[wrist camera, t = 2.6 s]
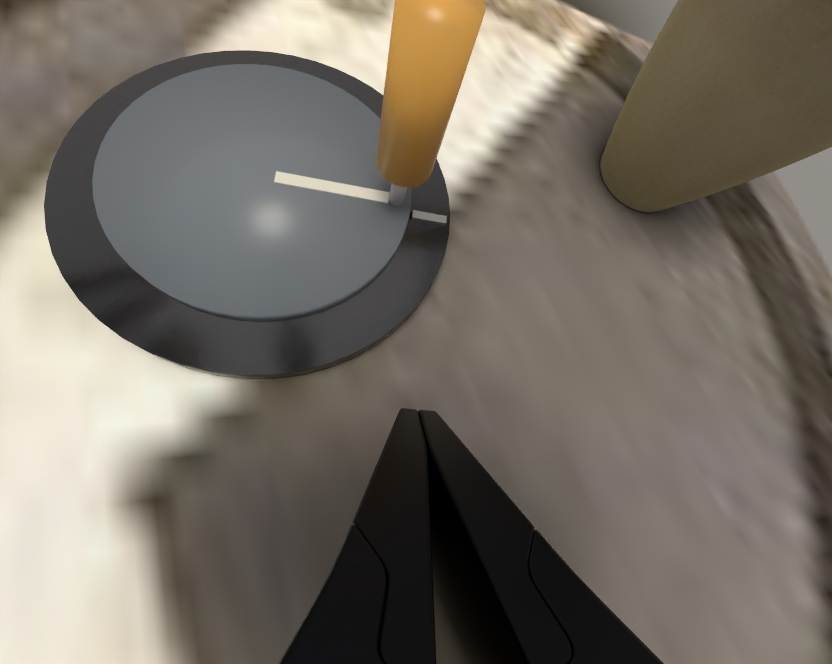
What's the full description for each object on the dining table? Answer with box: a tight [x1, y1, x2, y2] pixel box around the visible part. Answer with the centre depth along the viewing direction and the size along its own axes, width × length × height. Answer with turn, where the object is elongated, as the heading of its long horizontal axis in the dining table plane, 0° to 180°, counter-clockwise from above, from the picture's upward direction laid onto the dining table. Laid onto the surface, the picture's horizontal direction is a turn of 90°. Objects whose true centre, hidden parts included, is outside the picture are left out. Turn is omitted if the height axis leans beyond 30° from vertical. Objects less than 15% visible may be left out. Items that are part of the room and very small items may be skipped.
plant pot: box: [600, 0, 832, 212], centre depth 24 cm, size 15×15×16 cm
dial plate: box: [44, 51, 450, 379], centre depth 23 cm, size 24×24×2 cm
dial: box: [92, 0, 485, 322], centre depth 17 cm, size 19×18×12 cm
